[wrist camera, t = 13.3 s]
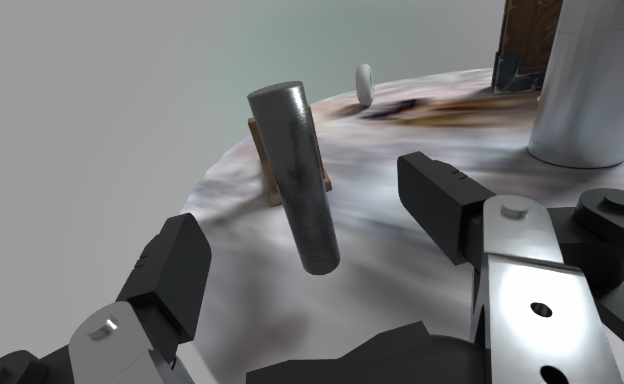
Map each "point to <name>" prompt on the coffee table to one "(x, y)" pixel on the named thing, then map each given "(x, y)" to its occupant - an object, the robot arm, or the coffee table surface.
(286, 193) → the grey piece
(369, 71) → the donut
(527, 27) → the decorative book
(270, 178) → the shaft stand
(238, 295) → the coffee table surface
